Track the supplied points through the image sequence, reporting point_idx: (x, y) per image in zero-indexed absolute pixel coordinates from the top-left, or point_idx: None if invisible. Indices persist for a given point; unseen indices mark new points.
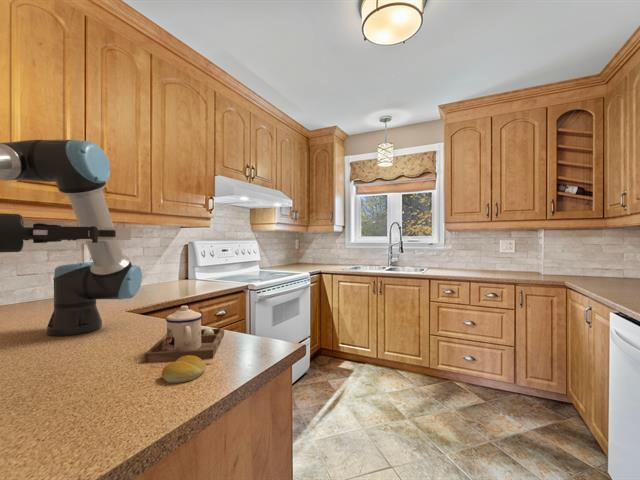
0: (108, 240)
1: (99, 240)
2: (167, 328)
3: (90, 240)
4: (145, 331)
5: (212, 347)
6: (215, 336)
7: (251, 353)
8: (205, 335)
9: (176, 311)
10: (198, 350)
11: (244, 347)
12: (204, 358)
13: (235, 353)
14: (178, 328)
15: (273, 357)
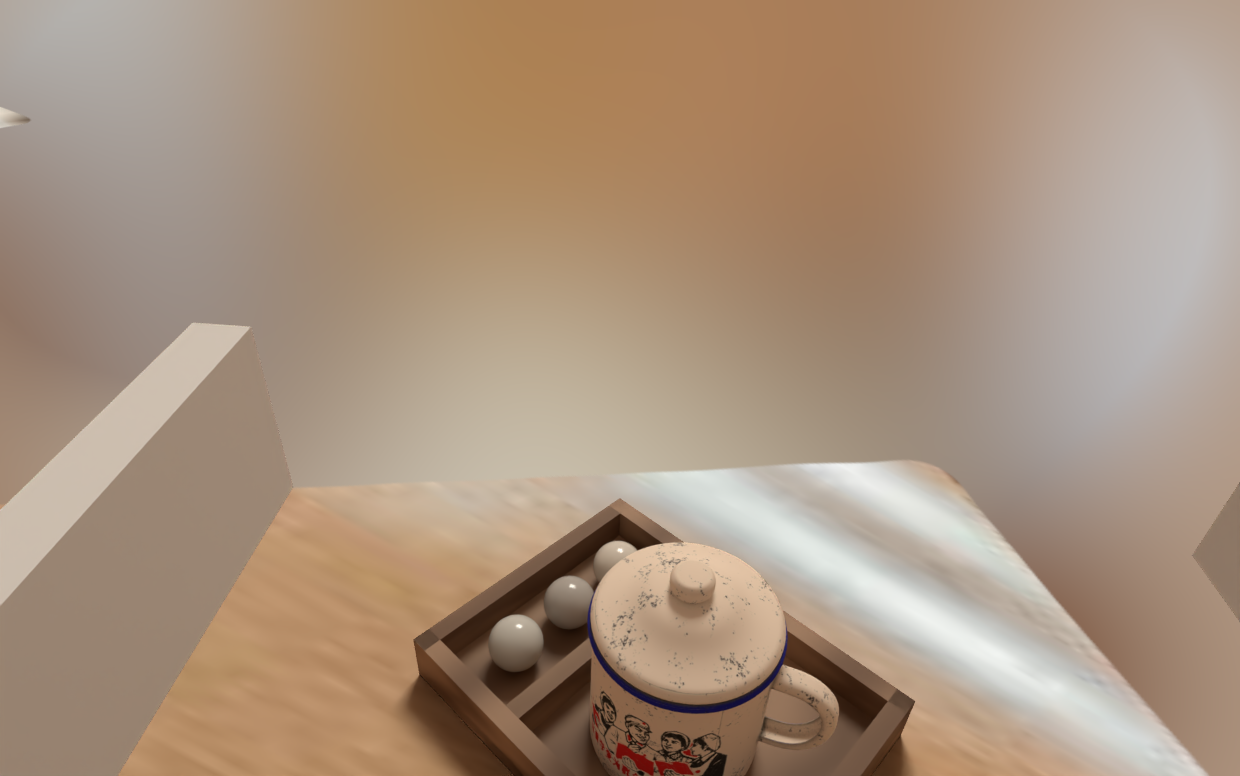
0: (275, 508)
1: (209, 620)
2: (669, 733)
3: (117, 769)
4: None
5: (873, 682)
6: None
7: (900, 591)
8: None
9: (669, 623)
10: (875, 744)
11: (808, 562)
12: (887, 750)
13: (855, 622)
14: (753, 709)
15: (999, 578)
